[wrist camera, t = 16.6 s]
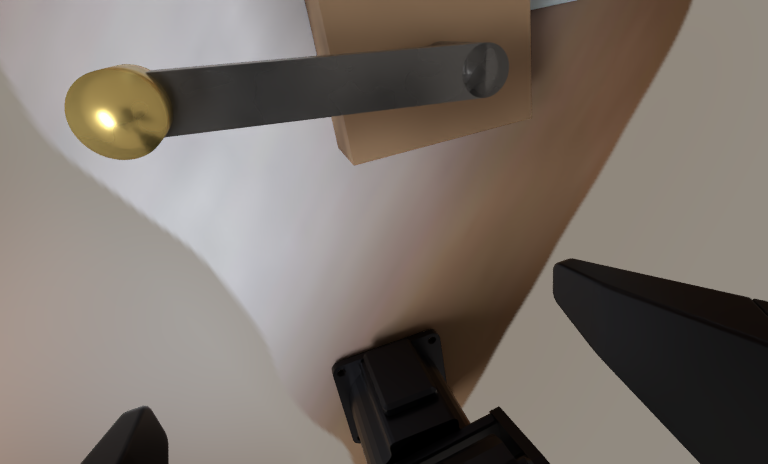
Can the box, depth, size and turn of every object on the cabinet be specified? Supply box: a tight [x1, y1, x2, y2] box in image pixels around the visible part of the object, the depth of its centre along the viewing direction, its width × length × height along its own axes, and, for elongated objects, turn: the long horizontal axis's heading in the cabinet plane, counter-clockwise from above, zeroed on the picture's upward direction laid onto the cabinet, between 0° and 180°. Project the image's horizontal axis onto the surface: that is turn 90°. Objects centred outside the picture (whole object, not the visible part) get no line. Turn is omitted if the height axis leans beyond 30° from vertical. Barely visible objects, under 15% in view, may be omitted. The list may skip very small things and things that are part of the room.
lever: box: [65, 41, 509, 160], centre depth 13 cm, size 12×2×5 cm, turn 94°
